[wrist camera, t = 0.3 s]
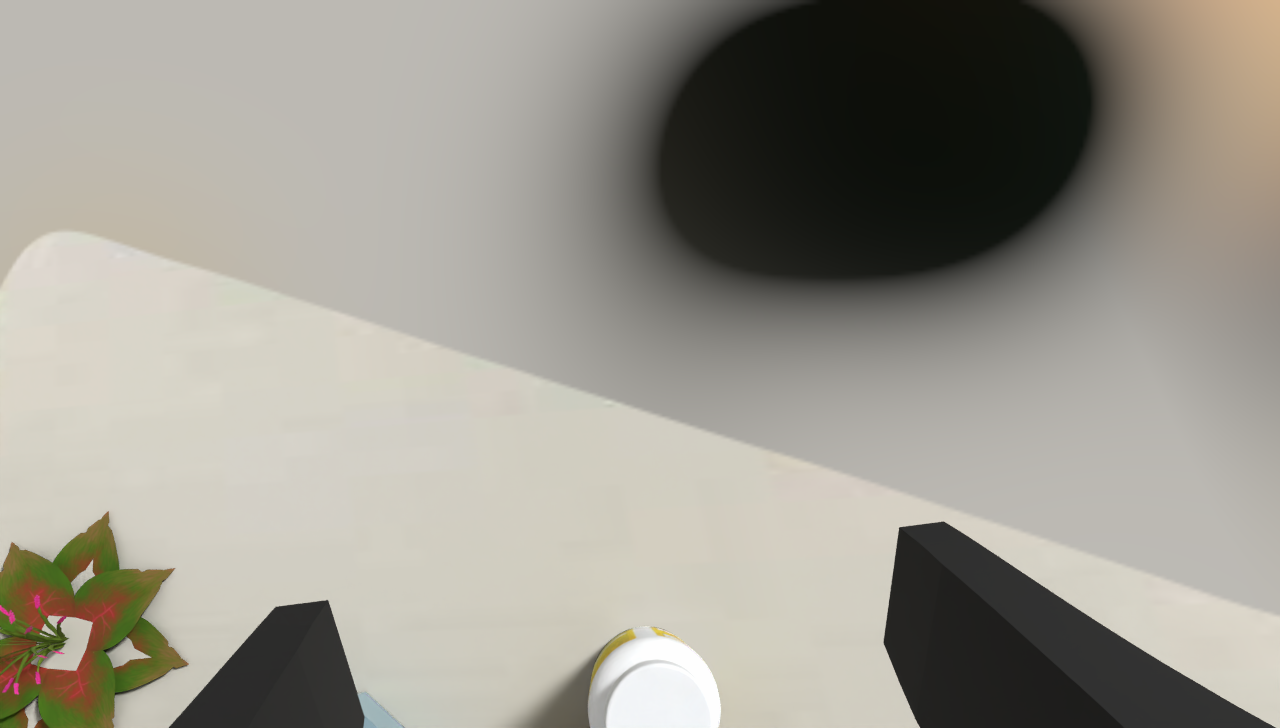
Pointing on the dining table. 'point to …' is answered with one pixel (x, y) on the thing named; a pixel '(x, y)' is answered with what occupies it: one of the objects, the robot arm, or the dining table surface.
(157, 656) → the lily flower
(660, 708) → the supplement bottle
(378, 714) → the bowl
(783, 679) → the dining table surface
